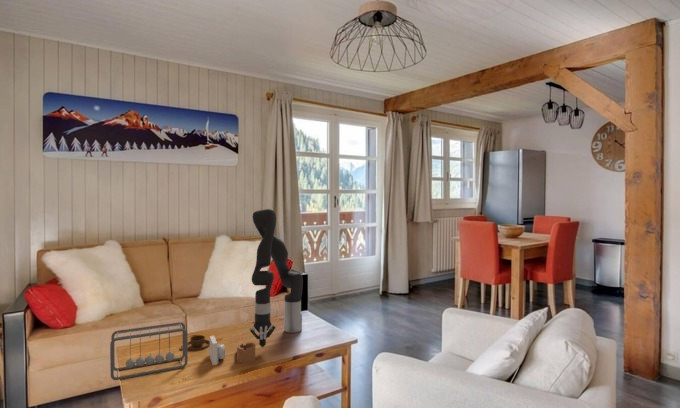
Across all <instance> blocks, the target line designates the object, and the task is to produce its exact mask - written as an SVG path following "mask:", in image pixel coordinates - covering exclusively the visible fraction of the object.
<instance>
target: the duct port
mask: <svg viewBox="0 0 680 408" xmlns="http://www.w3.org/2000/svg"><path fill="white" fill-rule="evenodd" d="M209 341H210V347H209V359H210V361H211V364H212V366H217V365H219V361H220V360H222V359H225V358H226V348H225V344H224V343H223V344H218V342H217V339H216V337H215V335H210V336H209Z"/></svg>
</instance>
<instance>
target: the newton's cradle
mask: <svg viewBox="0 0 680 408" xmlns="http://www.w3.org/2000/svg"><path fill="white" fill-rule="evenodd" d="M178 326H179V328H174V329H170V327H178ZM162 328H167V329H166V330H161V329H162ZM155 329H158V331H154V332H153V331H150V330H155ZM148 330H149V331H150V332H146V333H138V334H131V333H133V332H142V331H148ZM179 332H182V345H183V346H182V348H183V350H182V355H181V356H180V357H175V354H174V352H173V351H171V341H170V340H171V339H170V337H171V336H170V333H171V334H172V333H179ZM126 333H129V335H124V336H118V335H121V334H126ZM165 334H168V348H169V352H167V353H166V354H165V355H164V354H162V353H161V335H165ZM157 335H158V341H159V342H158V344H159V349H158V350H159V351H158V352H159V353H158V354H157V355H156V356H154V355H151V354H149V355H148V356H147V357H146V358H145V357H143V356H141V353H142V349H141V348H142V346H141V343H142V342H141V341H142V340H141V338H145V337H152V336H157ZM115 336H116V337H115ZM137 338H139V348H140V349H139V351H140V352H139V353H140V354H139V356H140V357H139V356H138V357H137V359H134V358H131V357H132V351H131V349H132V345H131V344H132V341H131V340H132V339H137ZM110 339H111V341H110V344H109V345H110V347H109V348H110V350H109V351H110V354H109V355H110V357H109V358H110V360H109V361H110V364H109V365H110V367H109V368H110V378H111V379H112V380H113V381H118V380H119V381H120V380H124V379H125V380H126V379H130V378H135V377H140V376H146V375H152V374H158V373H162V372H168V371H173V370H177V369H183V368H186V366H187V365H188V358H189V357H188V355H189V353H188V351H189V350H188V347H189V345H188V342H189V341H188V331H187V329H186V325H185V323H184V322H181V321H178V322H172V323H164V324H156V325H151V326H150V325H149V326H141V327H135V328H129V329H128V328H127V329H121V330H120V329H119V330H115V331H113V333H112V334H111V338H110ZM123 340H130V341H129V344H130V345H129V347H130V355H129V358H128V359H127V360H126V362H125V366H122V367H116V366H115V365H116V364H115V363H116V362H115V361H116V359H115V353H116V352H115V349H116V348H115V342H117V341H123ZM183 359H184V363H183V364H182V360H183ZM177 361H179V362H180V365H178V366H172V367H171V366H170V367H165V368H161V369H160V368H159V369H154V370H149V371H144V372H138V373H132V374H127V375H121V376H119V371H125V370H130V369H136V368H141V367H148V366H154V365H158V364H165V363H171V362H177ZM115 371H116V376H115V375H114V374H115V373H114V372H115Z"/></svg>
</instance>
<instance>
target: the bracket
mask: <svg viewBox="0 0 680 408" xmlns="http://www.w3.org/2000/svg"><path fill="white" fill-rule="evenodd" d="M255 361H256V343H254V342H251V341H249V342H247V341H246V343H245V342H241V343H239V344H238V345H236V362H237V363H239V364H242V365H243V364H244V365H246V364H251V363H254V362H255Z"/></svg>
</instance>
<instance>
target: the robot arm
mask: <svg viewBox="0 0 680 408" xmlns="http://www.w3.org/2000/svg"><path fill="white" fill-rule="evenodd" d="M252 222H253V224H254V226H255V228H256V229H257V231H258V233H259V235H260V236H261V238H262V239H261V240H260V243H259V244H258V246H257V249H256V261H255V267H254V269H253V272H252V275H251V282H252V285H254V286H265V288H261V289H258V290H256V291H255V295H254V296H255V301H254V303H255V305H254V323H253V326H252V327H250V328H249V332H250V333H251V334H252V335H253V336H254V337H255V338H256V339H257V340H258V341H259V342H258V344H259V347H261V348H264V347H265V346H266V345H267V343H266V342H267V338H269V337H271V335H272V334H273V332H274V331H275V329H276V326H275V325H274V324H272V322H271V291H272V286H273V283H274V279H275V275H274V273H273V271H271V270H262V269H264V268H267V267H270V266H271V264H272V261H273V263H274V265H275V267H276V270H277V272H278V275H279V278H280V281H281V284H282V286H283V287H285V288H286V289H287V288H288V289H290V293H287V294H285V295H284V308H283V309H284V311H283V312H284V317H283V319H284V322H283V323H284V324H283V325H284V326H283V327H284V332H285V333H288V334H296V333H299V332H301V331H303V314H302V313H301V312H302V295H303V289H304V288H303V285H304V280H303V279H304V278H303V275H302V274H301V273H299V272H295V271H292V270H290V268H289V266H288V259H289V258H288V257H289V252H288V249H287V247H286V244H285V242H284V241H283V240H282V239H281V238H279V237H278V236H277V235H275V229H276V224H277V215H276V212H275V210H274V209H273V208H265V209H260V210H256V211H254V212H253V214H252ZM256 332H257V333H258V334H257V333H256Z"/></svg>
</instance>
